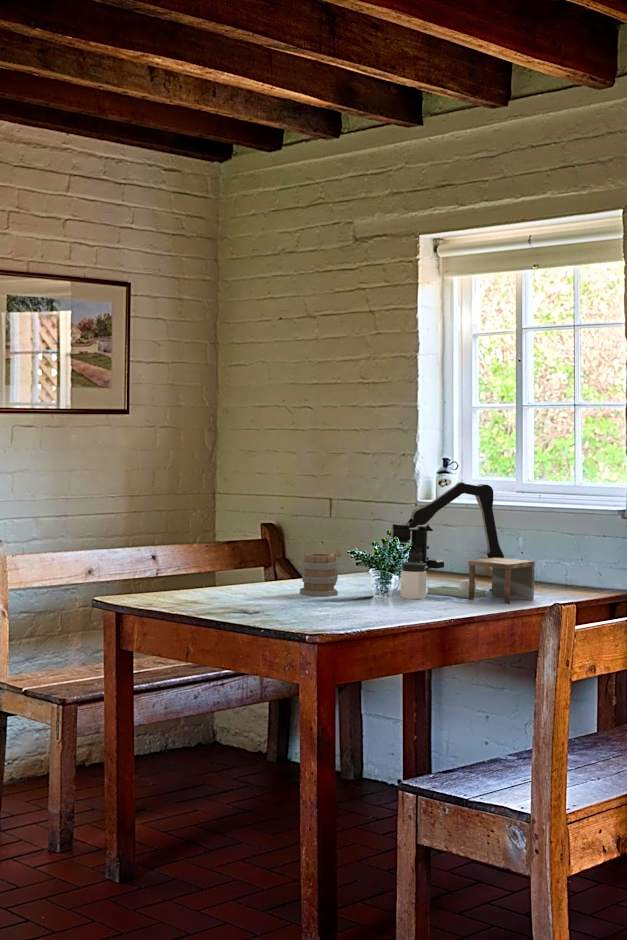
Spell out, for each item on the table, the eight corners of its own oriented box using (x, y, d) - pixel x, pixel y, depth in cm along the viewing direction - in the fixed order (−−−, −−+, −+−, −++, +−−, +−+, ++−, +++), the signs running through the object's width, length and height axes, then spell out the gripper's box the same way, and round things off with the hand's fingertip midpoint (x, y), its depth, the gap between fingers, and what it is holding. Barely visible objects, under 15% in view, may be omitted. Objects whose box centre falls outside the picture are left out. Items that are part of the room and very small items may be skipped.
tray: (442, 591, 467) (443, 575, 466) (485, 595, 455) (486, 580, 455) (427, 593, 459) (428, 577, 458) (471, 598, 448) (471, 582, 447)
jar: (397, 596, 449) (398, 562, 448) (418, 595, 451) (419, 561, 451) (406, 599, 440) (407, 564, 440) (428, 599, 443) (429, 564, 442)
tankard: (322, 597, 440) (323, 554, 440) (293, 594, 448) (294, 551, 447) (355, 592, 456) (356, 550, 456) (327, 589, 464) (328, 548, 463)
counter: (493, 595, 458) (494, 557, 458) (533, 599, 448) (534, 561, 448) (467, 599, 444) (468, 560, 443) (508, 604, 434) (509, 564, 434)
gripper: (385, 542, 466) (384, 585, 467) (428, 546, 455) (427, 590, 455) (402, 541, 475) (401, 582, 475) (445, 544, 463) (444, 587, 464)
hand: (418, 585), depth 467 cm, fingers closed
